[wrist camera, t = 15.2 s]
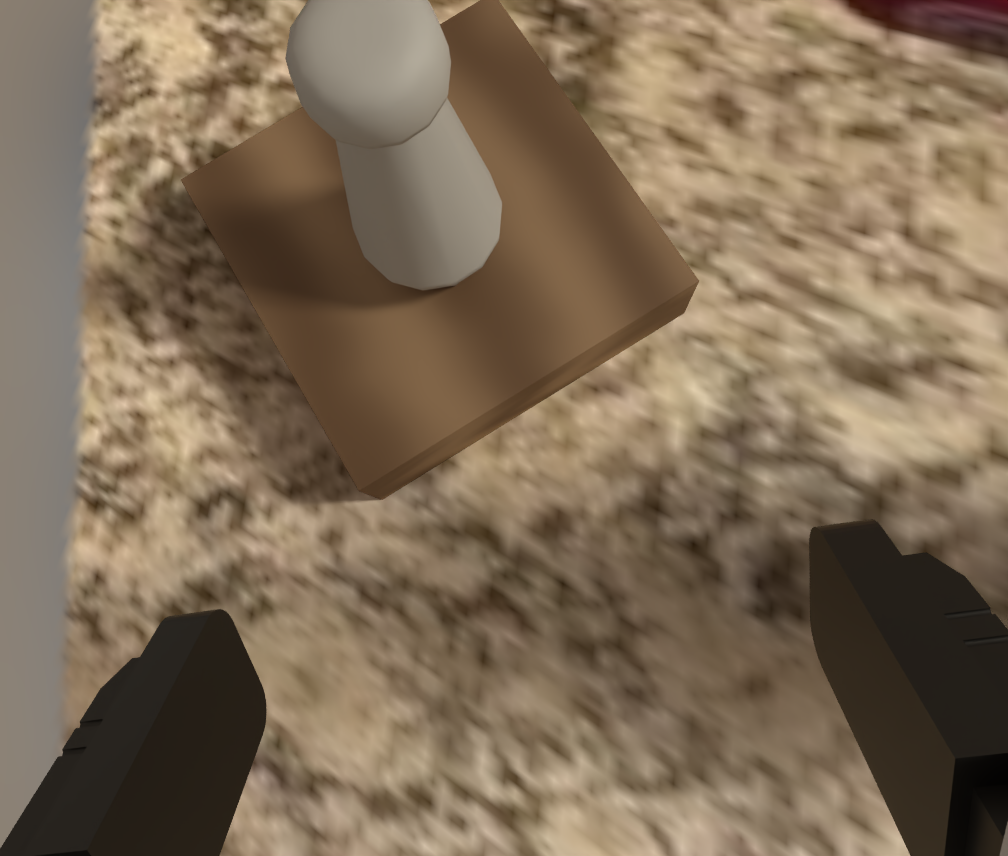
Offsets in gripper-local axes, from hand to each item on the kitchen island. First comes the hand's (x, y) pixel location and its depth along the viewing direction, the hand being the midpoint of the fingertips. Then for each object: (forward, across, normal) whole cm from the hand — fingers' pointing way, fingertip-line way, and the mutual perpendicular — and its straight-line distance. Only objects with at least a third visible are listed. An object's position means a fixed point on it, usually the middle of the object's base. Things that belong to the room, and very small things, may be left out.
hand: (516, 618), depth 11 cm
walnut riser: (+28, +4, +2) cm, 28 cm away
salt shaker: (+24, +4, 0) cm, 24 cm away
